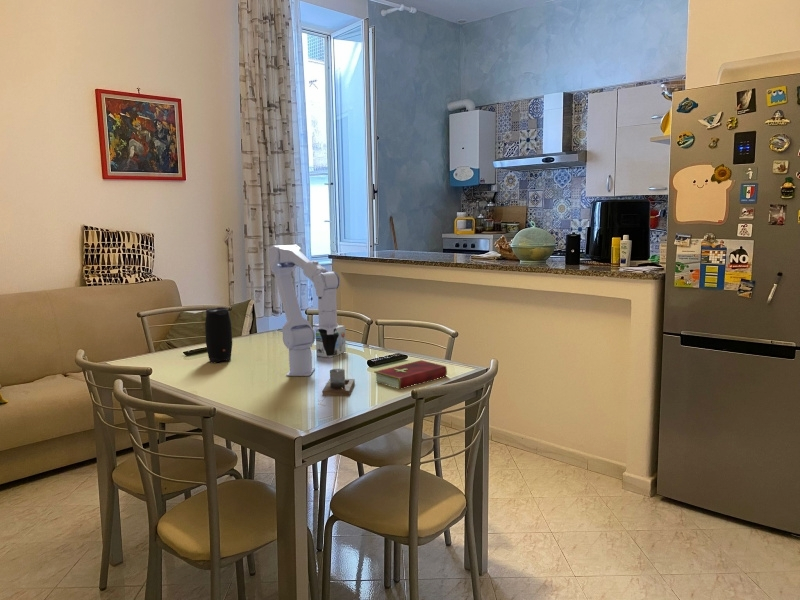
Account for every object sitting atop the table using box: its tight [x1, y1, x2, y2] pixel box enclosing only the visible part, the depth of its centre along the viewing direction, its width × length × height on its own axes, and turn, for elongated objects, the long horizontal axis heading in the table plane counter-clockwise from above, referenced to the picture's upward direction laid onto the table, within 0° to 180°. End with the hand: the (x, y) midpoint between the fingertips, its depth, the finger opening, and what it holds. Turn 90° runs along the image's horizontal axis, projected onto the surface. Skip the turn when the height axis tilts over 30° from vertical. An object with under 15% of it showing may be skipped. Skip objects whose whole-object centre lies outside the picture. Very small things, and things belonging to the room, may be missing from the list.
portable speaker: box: [204, 306, 233, 363], centre depth 224 cm, size 9×9×20 cm
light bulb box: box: [315, 324, 347, 359], centre depth 232 cm, size 11×7×11 cm, turn 148°
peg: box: [329, 368, 346, 389], centre depth 183 cm, size 4×4×7 cm
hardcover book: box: [374, 359, 448, 390], centre depth 196 cm, size 12×21×4 cm, turn 132°
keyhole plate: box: [321, 378, 356, 397], centre depth 186 cm, size 13×8×2 cm, turn 177°
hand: (328, 352), depth 192 cm, fingers open, 7 cm apart
